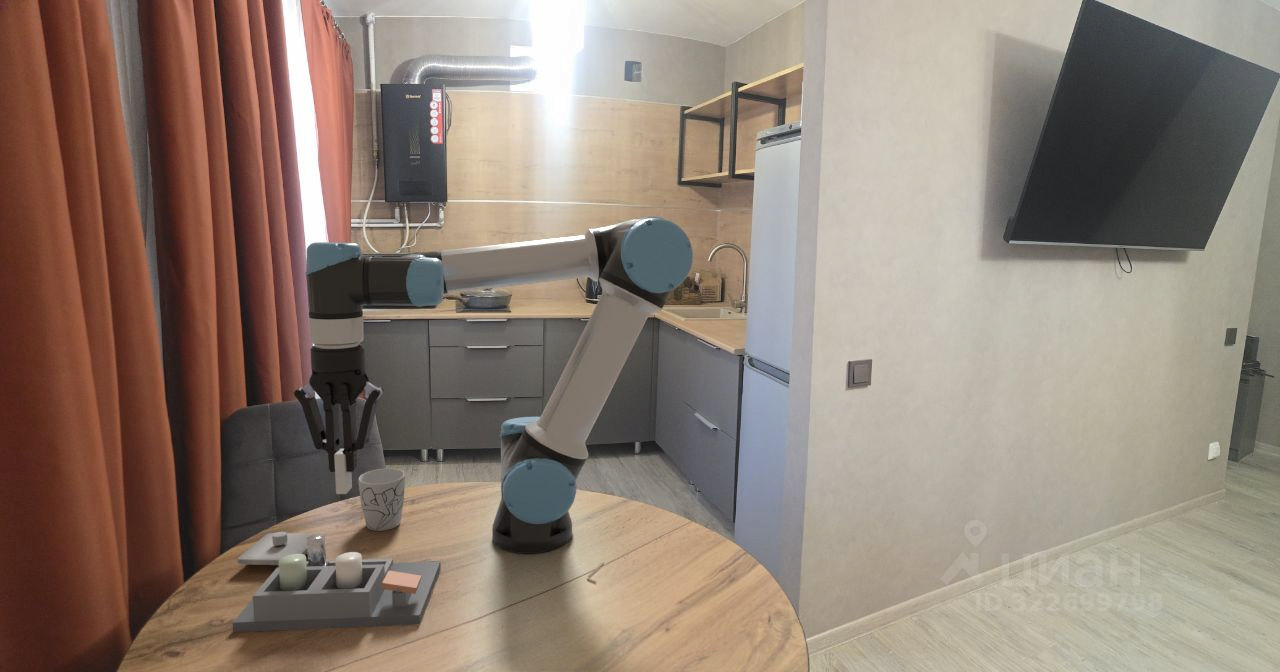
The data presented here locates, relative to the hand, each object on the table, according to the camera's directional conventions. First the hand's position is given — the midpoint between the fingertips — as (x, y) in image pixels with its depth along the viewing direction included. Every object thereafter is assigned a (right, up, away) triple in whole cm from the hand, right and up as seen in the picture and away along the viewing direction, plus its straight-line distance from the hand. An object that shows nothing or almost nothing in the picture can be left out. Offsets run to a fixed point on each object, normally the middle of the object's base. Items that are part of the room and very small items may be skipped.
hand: (344, 490), depth 104 cm
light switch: (-16, -15, +11) cm, 24 cm away
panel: (+1, -17, -1) cm, 17 cm away
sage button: (-5, -13, -6) cm, 15 cm away
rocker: (+11, -13, -4) cm, 17 cm away
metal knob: (-6, -14, +3) cm, 16 cm away
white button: (+3, -13, -5) cm, 14 cm away
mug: (-3, -13, +27) cm, 30 cm away
